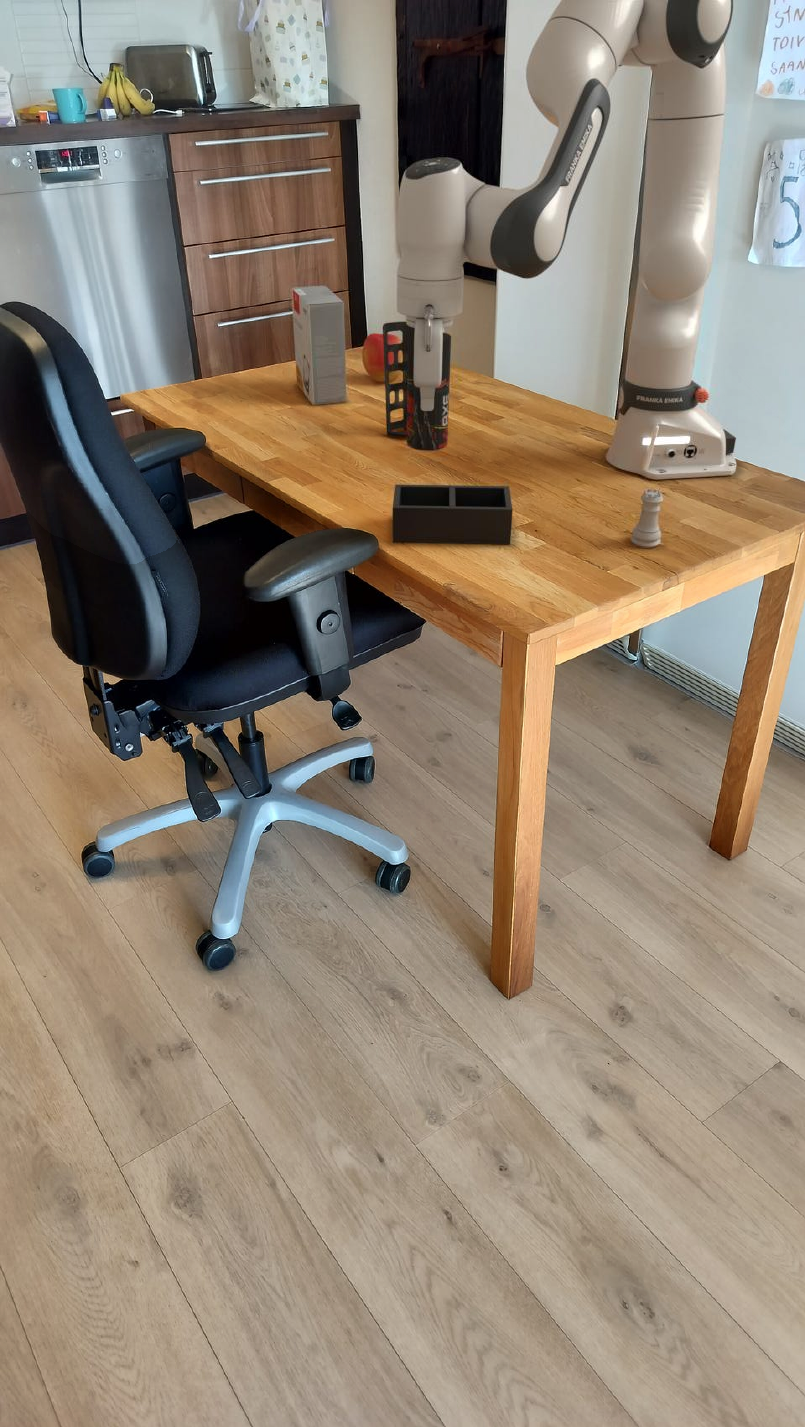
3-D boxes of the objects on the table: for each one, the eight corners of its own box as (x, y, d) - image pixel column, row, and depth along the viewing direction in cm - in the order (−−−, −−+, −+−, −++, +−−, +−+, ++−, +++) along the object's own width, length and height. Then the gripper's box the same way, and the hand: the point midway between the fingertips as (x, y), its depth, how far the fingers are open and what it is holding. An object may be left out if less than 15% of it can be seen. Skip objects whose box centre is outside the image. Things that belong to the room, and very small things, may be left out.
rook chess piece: (656, 536, 150) (664, 485, 146) (663, 548, 147) (672, 497, 142) (627, 536, 150) (634, 486, 146) (633, 549, 147) (641, 497, 142)
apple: (375, 389, 213) (374, 341, 207) (355, 378, 220) (354, 331, 214) (414, 383, 217) (415, 335, 211) (393, 372, 224) (393, 326, 218)
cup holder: (395, 518, 156) (395, 484, 153) (506, 520, 155) (509, 486, 152) (392, 543, 148) (392, 507, 145) (510, 545, 148) (512, 509, 145)
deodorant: (443, 452, 141) (447, 343, 133) (402, 448, 142) (403, 340, 134) (450, 438, 146) (454, 332, 138) (410, 435, 147) (412, 329, 139)
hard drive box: (295, 385, 215) (290, 286, 204) (330, 382, 217) (326, 284, 206) (312, 406, 203) (307, 302, 192) (348, 402, 205) (345, 300, 194)
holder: (390, 440, 185) (388, 326, 175) (380, 432, 191) (378, 321, 182) (447, 436, 187) (448, 323, 178) (435, 428, 194) (435, 318, 184)
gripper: (454, 316, 124) (450, 425, 132) (452, 282, 141) (449, 381, 149) (403, 315, 124) (402, 424, 132) (408, 281, 141) (407, 380, 149)
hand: (427, 401), depth 141 cm, fingers closed on deodorant, 6 cm apart
